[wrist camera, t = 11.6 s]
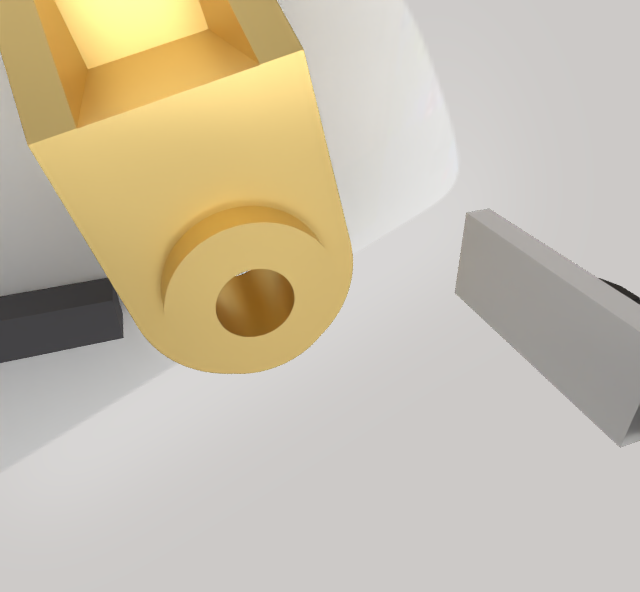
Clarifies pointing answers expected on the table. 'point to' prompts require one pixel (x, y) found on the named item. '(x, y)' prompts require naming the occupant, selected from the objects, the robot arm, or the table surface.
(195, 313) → the gold clevis bracket
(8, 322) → the dark grey bar
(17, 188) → the table surface
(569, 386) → the robot arm
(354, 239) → the table surface
